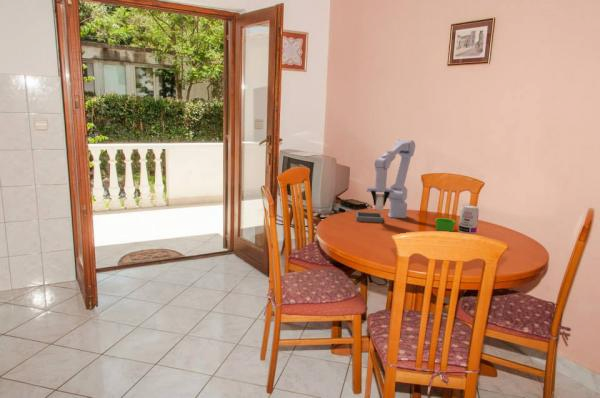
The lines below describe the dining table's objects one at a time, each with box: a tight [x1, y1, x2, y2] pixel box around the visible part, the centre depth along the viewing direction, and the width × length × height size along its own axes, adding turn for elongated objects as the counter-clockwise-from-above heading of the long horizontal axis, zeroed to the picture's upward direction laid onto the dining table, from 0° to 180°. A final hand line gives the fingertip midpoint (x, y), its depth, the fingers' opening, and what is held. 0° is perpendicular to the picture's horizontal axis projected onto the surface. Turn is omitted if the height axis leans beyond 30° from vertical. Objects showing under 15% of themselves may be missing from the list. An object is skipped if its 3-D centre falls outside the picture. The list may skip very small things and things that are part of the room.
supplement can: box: [457, 204, 480, 235], centre depth 208 cm, size 8×8×15 cm
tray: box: [355, 211, 384, 224], centre depth 236 cm, size 14×12×2 cm
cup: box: [434, 217, 456, 233], centre depth 194 cm, size 9×9×11 cm
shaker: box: [374, 193, 384, 211], centre depth 229 cm, size 4×4×8 cm
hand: (379, 205), depth 229 cm, fingers closed on shaker, 4 cm apart
